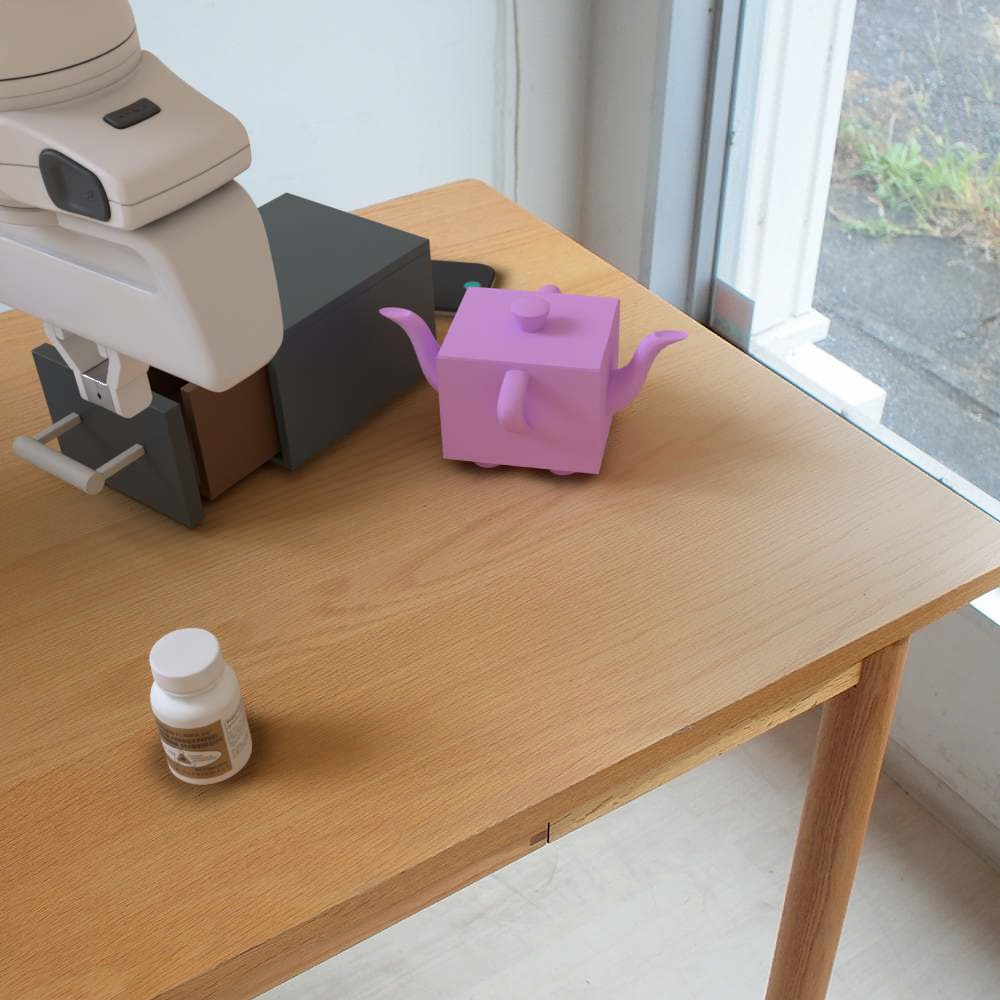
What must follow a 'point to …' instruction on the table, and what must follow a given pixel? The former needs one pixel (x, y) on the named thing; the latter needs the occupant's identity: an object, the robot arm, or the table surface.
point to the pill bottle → (198, 707)
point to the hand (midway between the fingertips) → (118, 403)
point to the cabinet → (340, 319)
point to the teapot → (531, 376)
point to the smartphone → (457, 283)
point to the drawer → (154, 438)
